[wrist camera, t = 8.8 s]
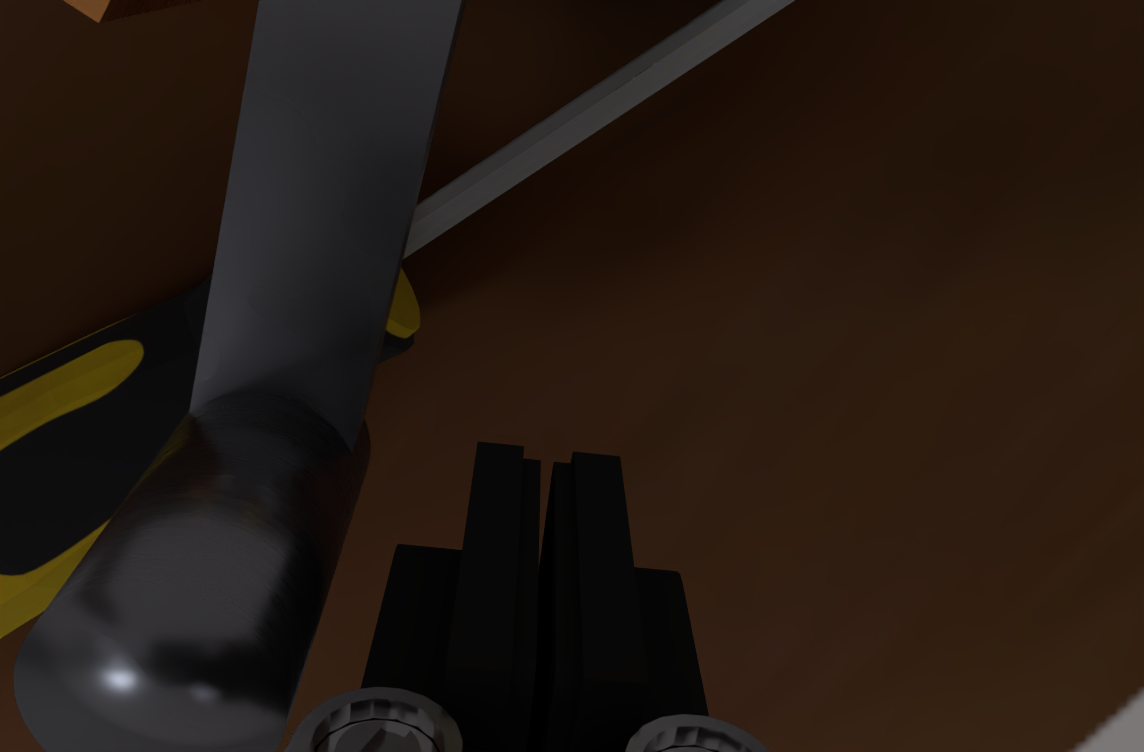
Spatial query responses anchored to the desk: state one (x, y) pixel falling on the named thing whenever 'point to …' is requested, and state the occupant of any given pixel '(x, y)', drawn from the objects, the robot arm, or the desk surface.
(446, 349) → the desk surface
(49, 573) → the screwdriver
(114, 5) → the plate with blocky chunks
